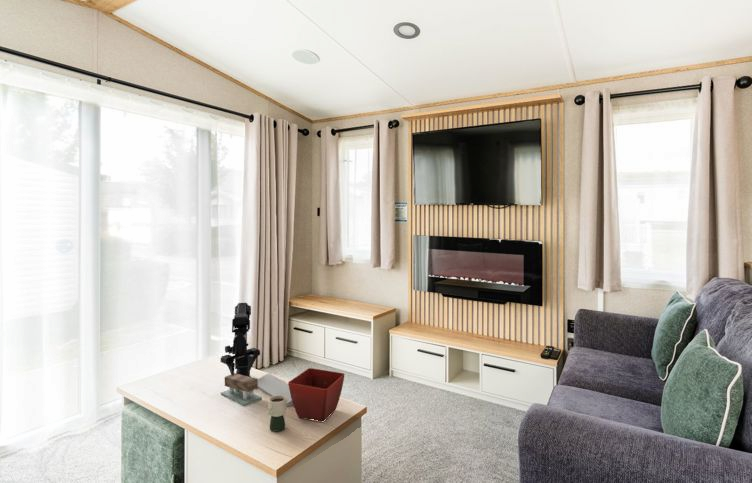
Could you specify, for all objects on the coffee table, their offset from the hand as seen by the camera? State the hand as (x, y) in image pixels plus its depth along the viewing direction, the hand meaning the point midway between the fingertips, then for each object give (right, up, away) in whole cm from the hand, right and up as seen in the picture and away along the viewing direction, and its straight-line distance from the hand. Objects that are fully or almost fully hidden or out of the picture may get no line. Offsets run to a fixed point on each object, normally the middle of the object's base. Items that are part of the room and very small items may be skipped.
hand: (241, 372), depth 198 cm
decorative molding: (+17, -13, +6) cm, 22 cm away
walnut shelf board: (0, -7, 0) cm, 7 cm away
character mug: (+25, -14, -30) cm, 41 cm away
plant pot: (+40, -14, -17) cm, 45 cm away
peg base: (0, -12, +1) cm, 12 cm away
